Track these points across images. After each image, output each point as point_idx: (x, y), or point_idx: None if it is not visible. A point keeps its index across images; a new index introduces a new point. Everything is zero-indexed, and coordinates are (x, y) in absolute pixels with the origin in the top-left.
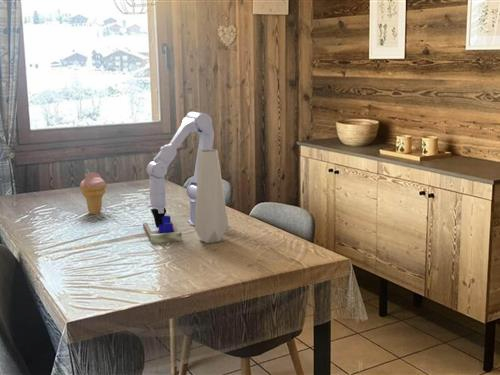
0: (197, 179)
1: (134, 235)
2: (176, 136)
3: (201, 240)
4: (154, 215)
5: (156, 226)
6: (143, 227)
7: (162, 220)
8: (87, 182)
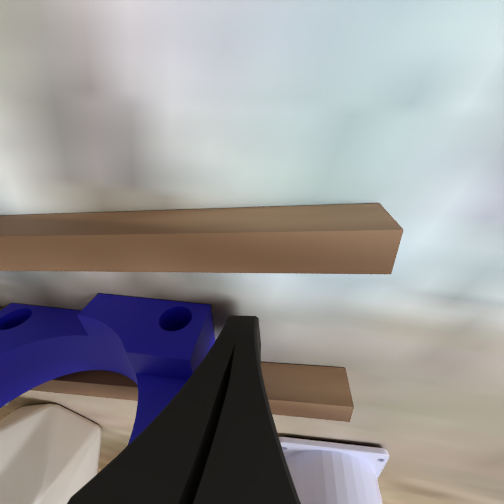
0: None
1: (83, 70)
2: None
3: (36, 406)
4: (124, 455)
5: (226, 322)
6: (353, 208)
7: (148, 417)
8: None
